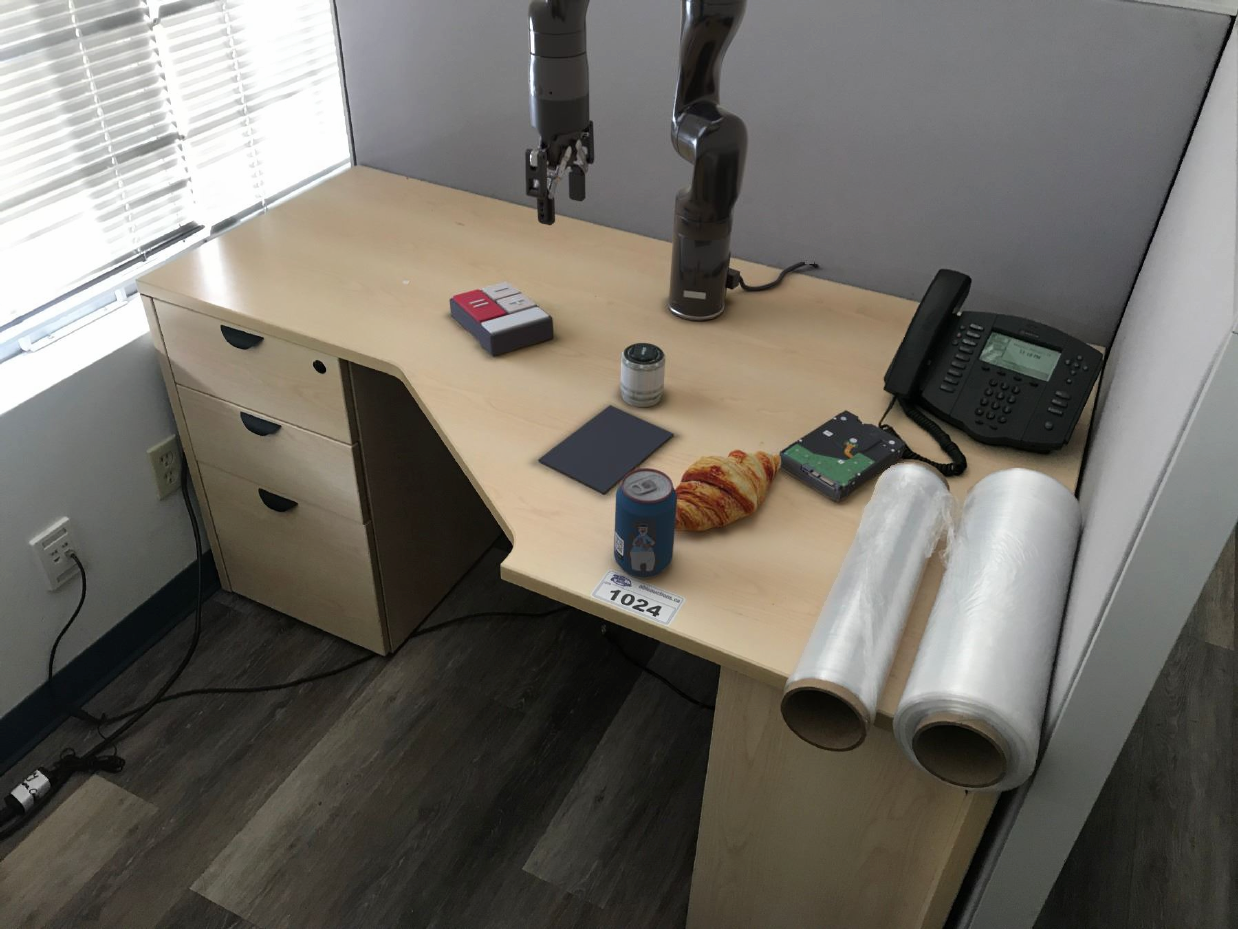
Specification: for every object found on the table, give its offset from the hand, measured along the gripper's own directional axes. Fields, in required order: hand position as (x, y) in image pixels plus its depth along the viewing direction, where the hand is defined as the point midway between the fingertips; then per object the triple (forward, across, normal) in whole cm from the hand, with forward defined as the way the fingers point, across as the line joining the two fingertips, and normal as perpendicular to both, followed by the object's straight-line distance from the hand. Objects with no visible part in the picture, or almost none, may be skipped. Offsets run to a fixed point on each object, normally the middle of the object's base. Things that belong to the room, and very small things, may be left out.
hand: (562, 211), depth 132 cm
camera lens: (+26, 0, -12) cm, 29 cm away
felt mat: (+26, -14, -14) cm, 32 cm away
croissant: (+26, -17, -32) cm, 45 cm away
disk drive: (+27, -2, -43) cm, 50 cm away
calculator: (+26, +7, +16) cm, 31 cm away
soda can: (+26, -31, -27) cm, 49 cm away
